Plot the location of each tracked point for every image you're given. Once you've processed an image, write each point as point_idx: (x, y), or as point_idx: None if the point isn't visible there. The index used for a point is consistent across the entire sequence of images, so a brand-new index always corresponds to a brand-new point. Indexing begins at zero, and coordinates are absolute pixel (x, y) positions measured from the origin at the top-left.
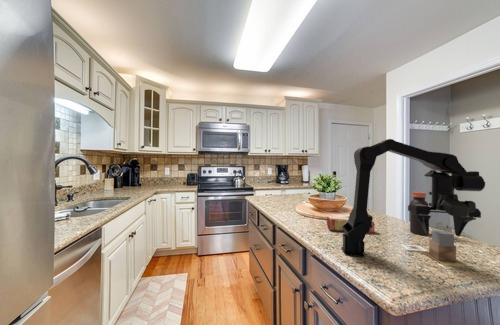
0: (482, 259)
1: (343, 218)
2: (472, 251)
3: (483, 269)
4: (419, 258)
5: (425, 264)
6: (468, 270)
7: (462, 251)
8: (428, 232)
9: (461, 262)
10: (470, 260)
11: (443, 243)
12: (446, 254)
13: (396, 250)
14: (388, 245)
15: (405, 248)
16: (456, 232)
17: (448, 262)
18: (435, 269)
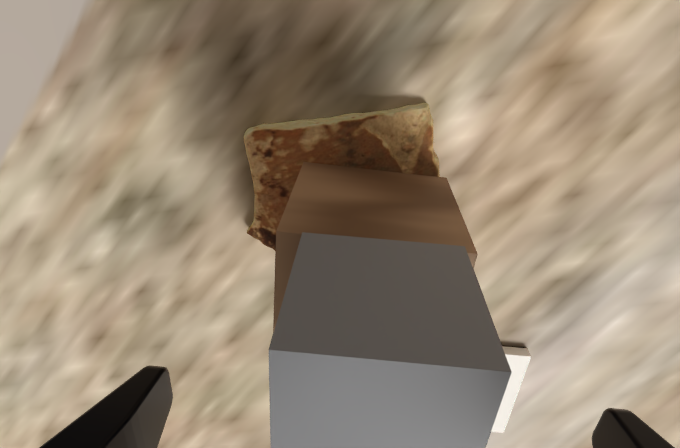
0: (27, 270)
1: None
2: (21, 380)
3: (133, 88)
4: (549, 227)
5: (610, 110)
6: (284, 43)
7: (90, 374)
8: (635, 428)
9: (264, 151)
10: (129, 242)
11: (428, 258)
12: (382, 193)
13: (618, 348)
14: (598, 420)
15: (524, 374)
16: (148, 434)
17: (386, 140)
18: (611, 8)
